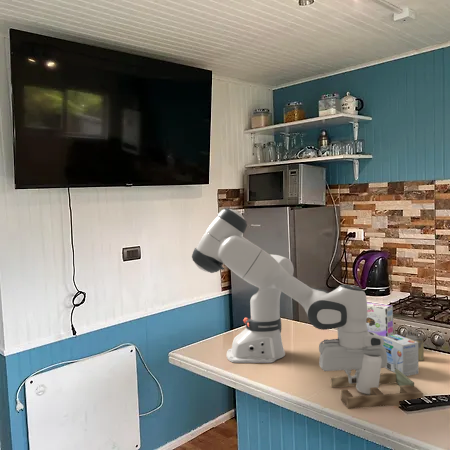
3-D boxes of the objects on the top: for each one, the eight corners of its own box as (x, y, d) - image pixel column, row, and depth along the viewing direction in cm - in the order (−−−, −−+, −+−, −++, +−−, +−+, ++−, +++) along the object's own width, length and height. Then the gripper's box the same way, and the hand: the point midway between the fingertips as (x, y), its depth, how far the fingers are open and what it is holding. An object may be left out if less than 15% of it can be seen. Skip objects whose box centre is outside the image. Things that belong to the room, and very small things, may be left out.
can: (375, 387, 145) (379, 350, 144) (380, 396, 139) (384, 358, 138) (354, 384, 146) (358, 347, 145) (358, 394, 140) (362, 355, 138)
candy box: (394, 346, 183) (393, 305, 182) (387, 350, 179) (386, 308, 178) (362, 339, 193) (361, 300, 192) (354, 343, 189) (354, 303, 188)
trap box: (347, 408, 132) (347, 395, 132) (330, 386, 148) (330, 373, 147) (422, 403, 133) (422, 389, 133) (397, 381, 149) (397, 369, 149)
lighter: (426, 360, 167) (425, 332, 167) (418, 362, 165) (418, 334, 165) (410, 354, 173) (409, 328, 173) (402, 356, 172) (402, 329, 171)
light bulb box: (381, 366, 163) (381, 336, 162) (397, 363, 165) (396, 333, 164) (403, 377, 153) (402, 345, 152) (419, 373, 155) (419, 342, 154)
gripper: (321, 343, 138) (322, 388, 138) (389, 339, 139) (389, 385, 140) (316, 336, 144) (317, 380, 145) (380, 333, 145) (381, 377, 146)
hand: (353, 382), depth 142 cm, fingers closed
